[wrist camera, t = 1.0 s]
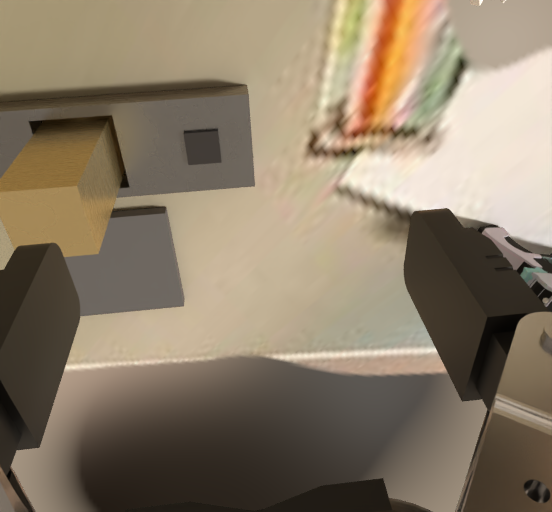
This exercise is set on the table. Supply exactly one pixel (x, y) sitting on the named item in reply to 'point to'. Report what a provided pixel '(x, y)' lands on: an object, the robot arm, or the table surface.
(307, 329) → the table surface
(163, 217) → the mat
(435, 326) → the robot arm
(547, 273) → the toy gun
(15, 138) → the rail
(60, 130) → the brass block
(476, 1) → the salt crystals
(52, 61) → the table surface
